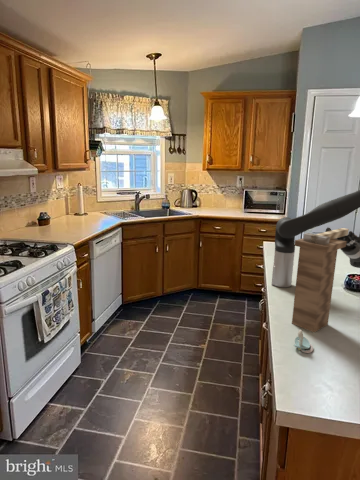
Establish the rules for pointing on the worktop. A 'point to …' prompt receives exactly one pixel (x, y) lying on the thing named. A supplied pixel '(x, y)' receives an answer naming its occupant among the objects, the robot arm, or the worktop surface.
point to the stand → (314, 283)
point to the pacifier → (303, 343)
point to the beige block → (325, 236)
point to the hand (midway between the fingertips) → (338, 231)
